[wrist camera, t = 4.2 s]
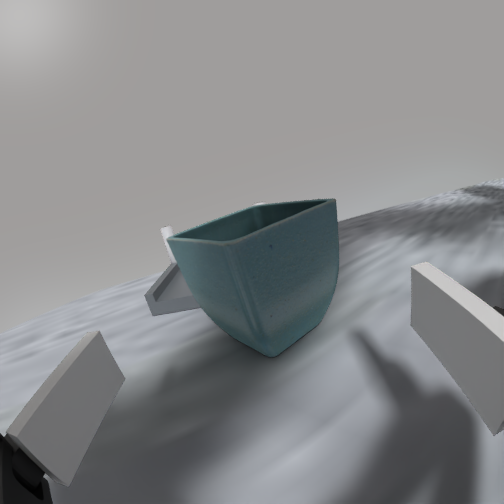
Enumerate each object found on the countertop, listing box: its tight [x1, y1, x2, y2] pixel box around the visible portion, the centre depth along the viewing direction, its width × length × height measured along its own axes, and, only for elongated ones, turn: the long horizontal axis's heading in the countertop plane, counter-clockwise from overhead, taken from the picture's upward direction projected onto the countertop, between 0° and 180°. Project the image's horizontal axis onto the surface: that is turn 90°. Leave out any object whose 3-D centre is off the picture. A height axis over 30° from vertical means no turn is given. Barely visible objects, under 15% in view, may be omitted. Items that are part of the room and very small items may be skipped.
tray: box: [144, 202, 265, 316], centre depth 33 cm, size 15×12×8 cm
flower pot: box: [166, 199, 339, 357], centre depth 20 cm, size 9×9×9 cm
